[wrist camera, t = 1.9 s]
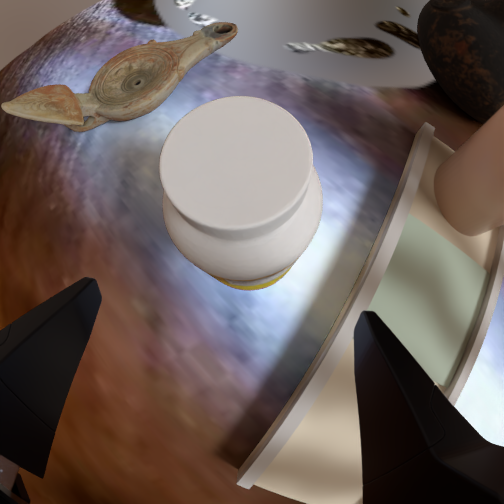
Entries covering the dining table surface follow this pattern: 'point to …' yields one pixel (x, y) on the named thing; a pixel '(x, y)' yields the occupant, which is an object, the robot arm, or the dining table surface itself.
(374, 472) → the robot arm
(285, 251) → the supplement bottle
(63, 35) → the dining table surface
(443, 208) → the terracotta post
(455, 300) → the rail board
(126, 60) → the oil lamp
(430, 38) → the glass bottle
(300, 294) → the dining table surface
